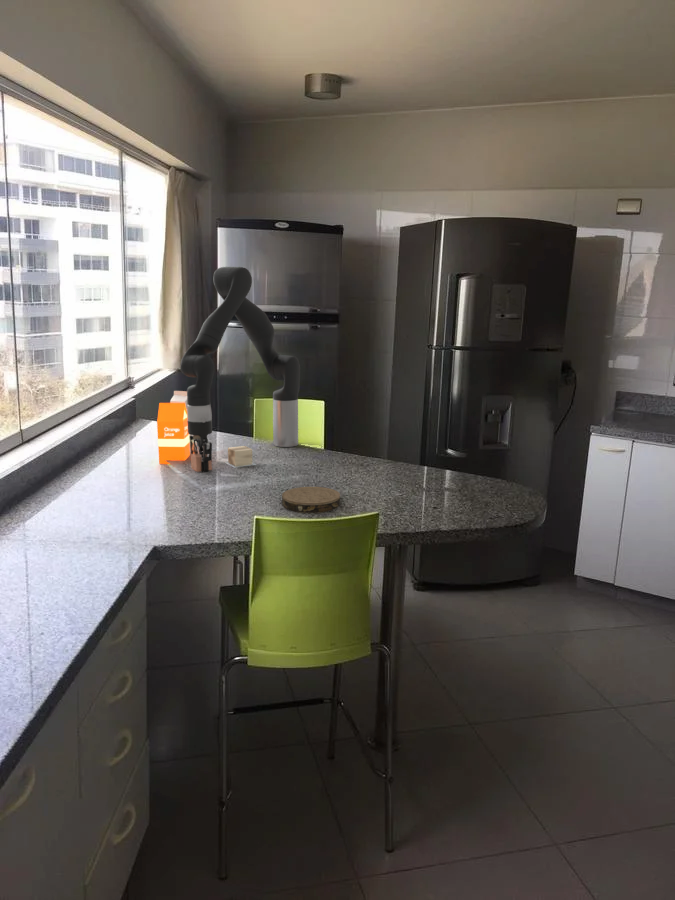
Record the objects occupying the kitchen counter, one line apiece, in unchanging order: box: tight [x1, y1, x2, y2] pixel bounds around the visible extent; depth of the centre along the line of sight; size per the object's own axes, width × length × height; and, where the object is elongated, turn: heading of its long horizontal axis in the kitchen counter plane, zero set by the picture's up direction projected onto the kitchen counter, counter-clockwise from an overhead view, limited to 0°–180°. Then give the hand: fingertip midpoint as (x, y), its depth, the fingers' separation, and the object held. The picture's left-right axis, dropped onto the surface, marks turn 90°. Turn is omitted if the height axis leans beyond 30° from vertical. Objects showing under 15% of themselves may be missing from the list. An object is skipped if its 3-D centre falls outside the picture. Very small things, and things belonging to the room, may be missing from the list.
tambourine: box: [281, 486, 341, 514], centre depth 196 cm, size 16×16×3 cm
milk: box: [169, 390, 193, 454], centre depth 252 cm, size 6×6×22 cm
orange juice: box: [156, 402, 191, 465], centre depth 240 cm, size 8×9×20 cm
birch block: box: [227, 445, 254, 468], centre depth 234 cm, size 6×6×5 cm
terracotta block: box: [190, 453, 213, 473], centre depth 227 cm, size 5×5×6 cm
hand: (201, 470), depth 227 cm, fingers open, 5 cm apart
